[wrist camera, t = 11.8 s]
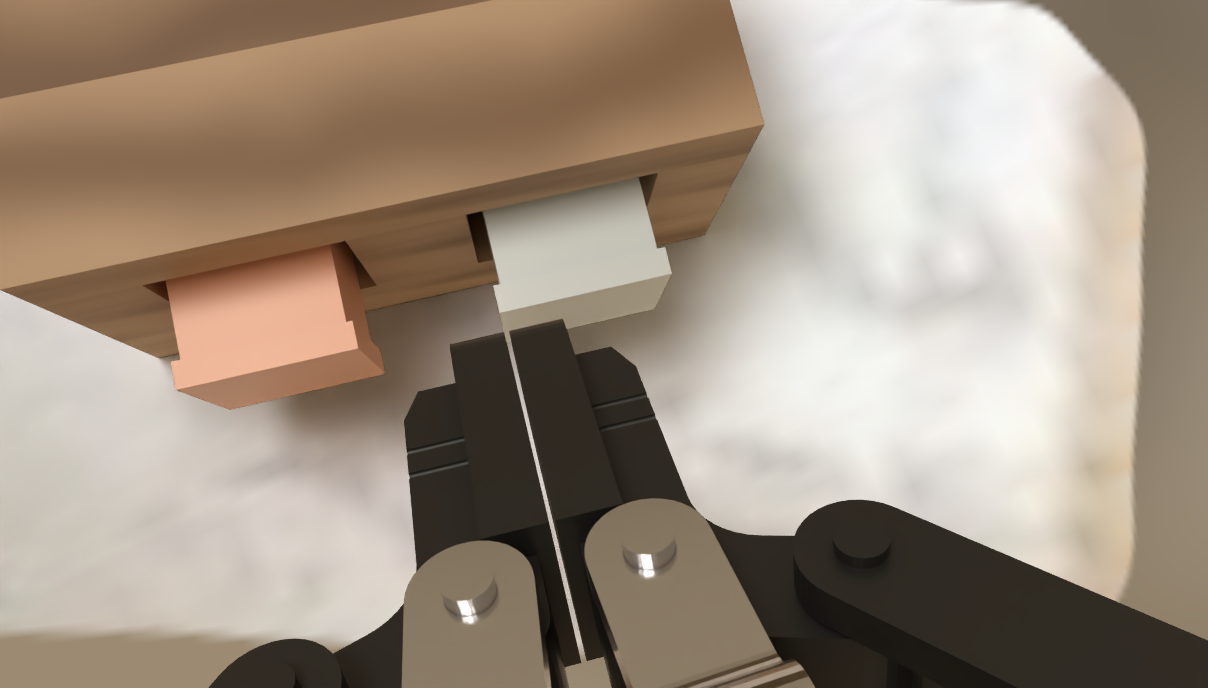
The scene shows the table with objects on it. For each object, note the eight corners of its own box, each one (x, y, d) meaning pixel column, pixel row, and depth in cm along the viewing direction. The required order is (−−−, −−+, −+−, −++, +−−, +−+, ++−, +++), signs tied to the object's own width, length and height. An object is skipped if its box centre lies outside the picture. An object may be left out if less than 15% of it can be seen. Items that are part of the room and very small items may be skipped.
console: (110, 95, 39) (-58, -71, 28) (638, -12, 41) (671, -206, 30) (158, 357, 37) (-1, 289, 27) (704, 235, 39) (764, 124, 28)
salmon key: (191, 208, 35) (132, 156, 30) (343, 176, 35) (309, 119, 30) (229, 409, 34) (175, 390, 29) (385, 373, 34) (358, 348, 29)
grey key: (460, 148, 36) (447, 88, 31) (605, 117, 36) (614, 53, 31) (506, 343, 35) (499, 312, 30) (654, 308, 35) (672, 273, 30)
